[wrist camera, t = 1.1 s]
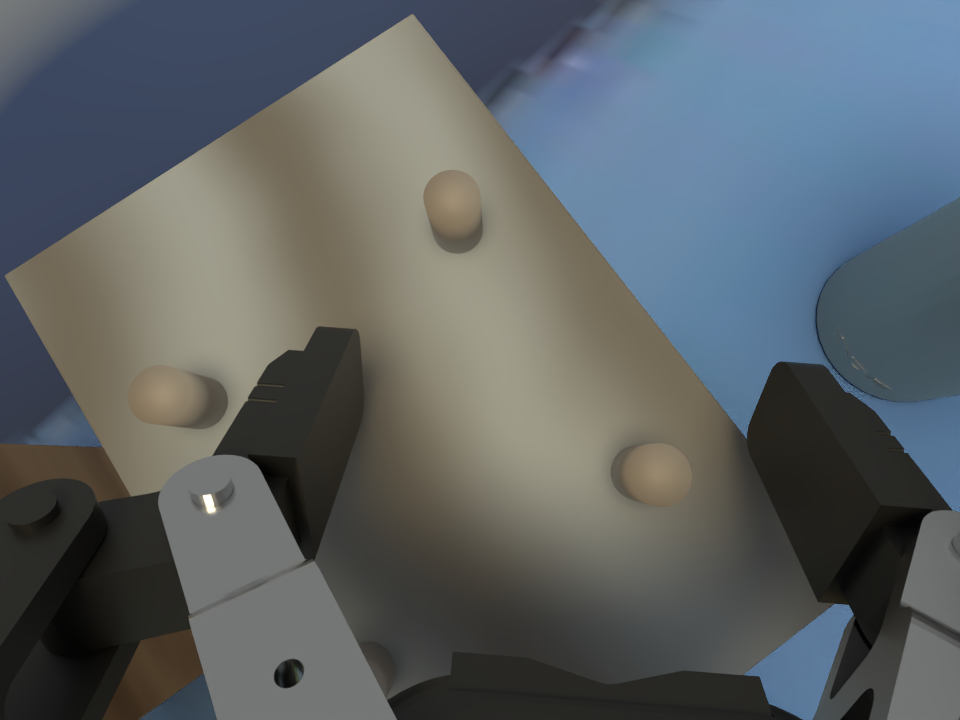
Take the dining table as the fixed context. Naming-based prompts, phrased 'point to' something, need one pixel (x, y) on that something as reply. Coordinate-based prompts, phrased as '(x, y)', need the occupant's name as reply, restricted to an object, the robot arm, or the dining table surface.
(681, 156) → the dining table surface
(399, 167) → the pin tray stand
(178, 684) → the tall stand
